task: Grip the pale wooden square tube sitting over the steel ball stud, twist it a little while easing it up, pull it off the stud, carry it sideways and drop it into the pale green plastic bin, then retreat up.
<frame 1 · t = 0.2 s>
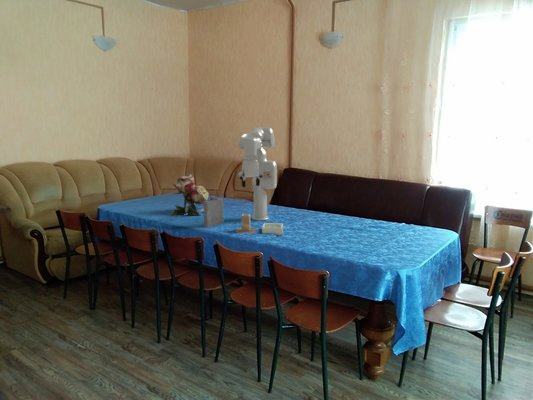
hand: (250, 186, 268), 30 cm above the table, tool pointing down, fingers open, 9 cm apart
stud base: (246, 232, 277), on the table
bin: (272, 233, 275), on the table
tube: (246, 230, 277), point 1 cm above the table, touching stud base
grey rectangular slab: (213, 225, 298), on the table
rose bouquet: (191, 212, 340), on the table
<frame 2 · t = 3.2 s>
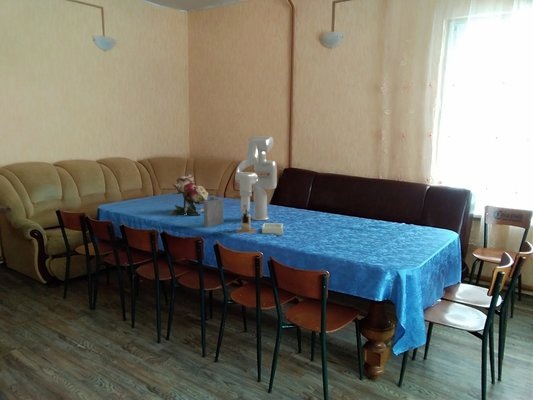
hand: (246, 221, 276), 7 cm above the table, tool pointing down, fingers closed on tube, 5 cm apart
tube: (246, 230, 277), point 2 cm above the table, touching gripper, stud base
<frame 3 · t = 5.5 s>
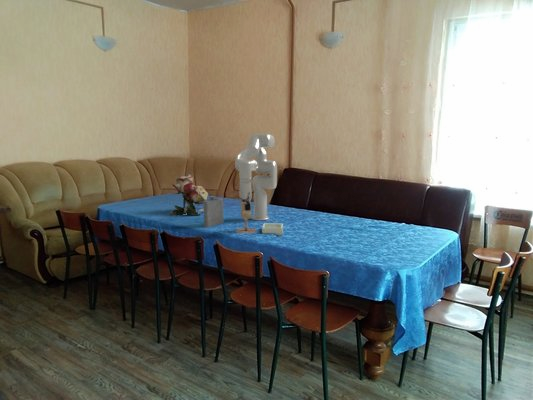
hand: (246, 209, 275), 15 cm above the table, tool pointing down, fingers closed on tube, 5 cm apart
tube: (246, 217, 276), point 9 cm above the table, touching gripper
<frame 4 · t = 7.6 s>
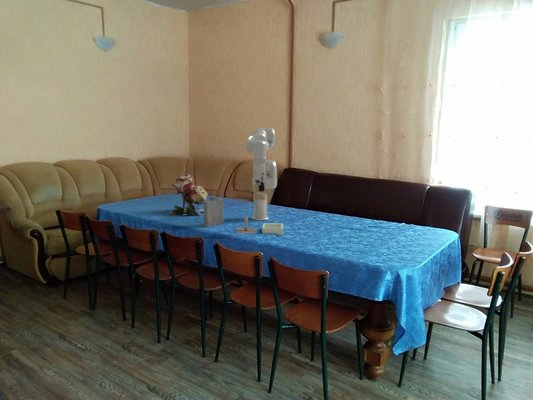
hand: (259, 190, 271), 27 cm above the table, tool pointing down, fingers closed on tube, 5 cm apart
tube: (259, 199, 272), point 22 cm above the table, touching gripper
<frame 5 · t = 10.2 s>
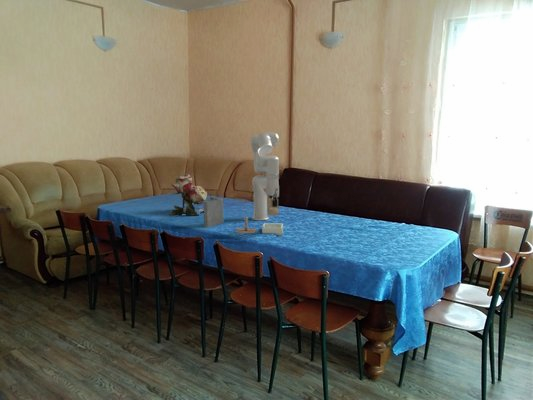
hand: (272, 205, 272), 18 cm above the table, tool pointing down, fingers closed on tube, 5 cm apart
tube: (272, 214, 273), point 12 cm above the table, touching gripper
when the fingers open (8 cm above the table, at t = 12.4 s): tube drops 1 cm, resting on bin.
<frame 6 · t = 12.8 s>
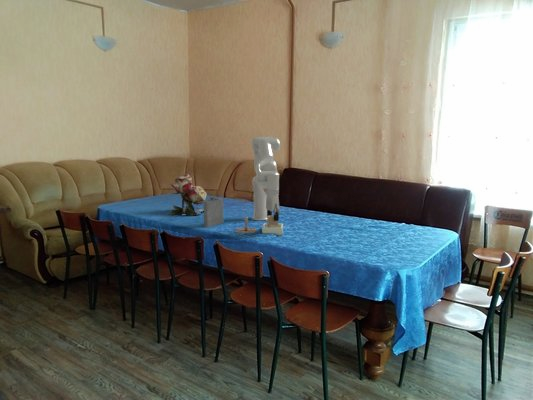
hand: (272, 219, 274), 9 cm above the table, tool pointing down, fingers open, 9 cm apart
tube: (272, 231, 275), point 1 cm above the table, touching bin
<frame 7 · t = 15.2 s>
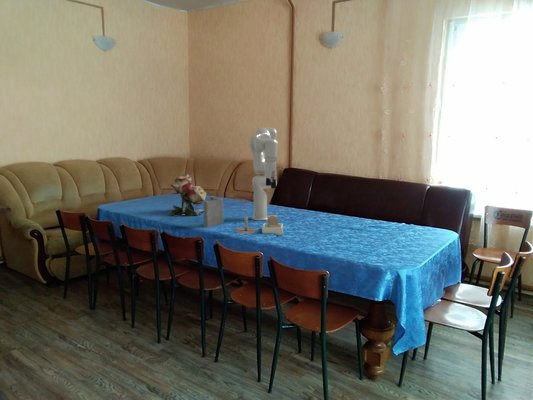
hand: (270, 186, 274), 29 cm above the table, tool pointing down, fingers open, 9 cm apart
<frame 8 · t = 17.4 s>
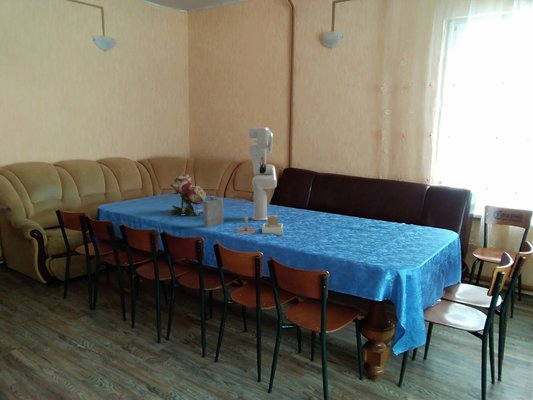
hand: (262, 172, 288), 36 cm above the table, tool pointing down, fingers open, 9 cm apart
at the end: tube inside the target area on the bin (0.1 cm from its centre), point 1.0 cm above the bin's base; the gripper is holding nothing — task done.
